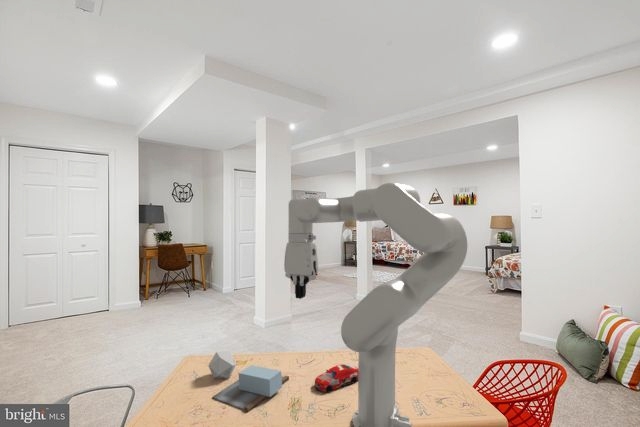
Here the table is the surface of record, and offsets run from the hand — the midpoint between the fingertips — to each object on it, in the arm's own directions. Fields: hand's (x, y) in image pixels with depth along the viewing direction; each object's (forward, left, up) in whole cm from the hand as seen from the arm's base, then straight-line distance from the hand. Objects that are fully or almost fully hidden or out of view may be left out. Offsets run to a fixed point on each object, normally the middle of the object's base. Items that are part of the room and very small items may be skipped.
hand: (300, 297), depth 100 cm
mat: (+14, +6, -29) cm, 33 cm away
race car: (-8, -10, -30) cm, 32 cm away
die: (+28, +5, -29) cm, 41 cm away
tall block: (+5, +6, -25) cm, 26 cm away
